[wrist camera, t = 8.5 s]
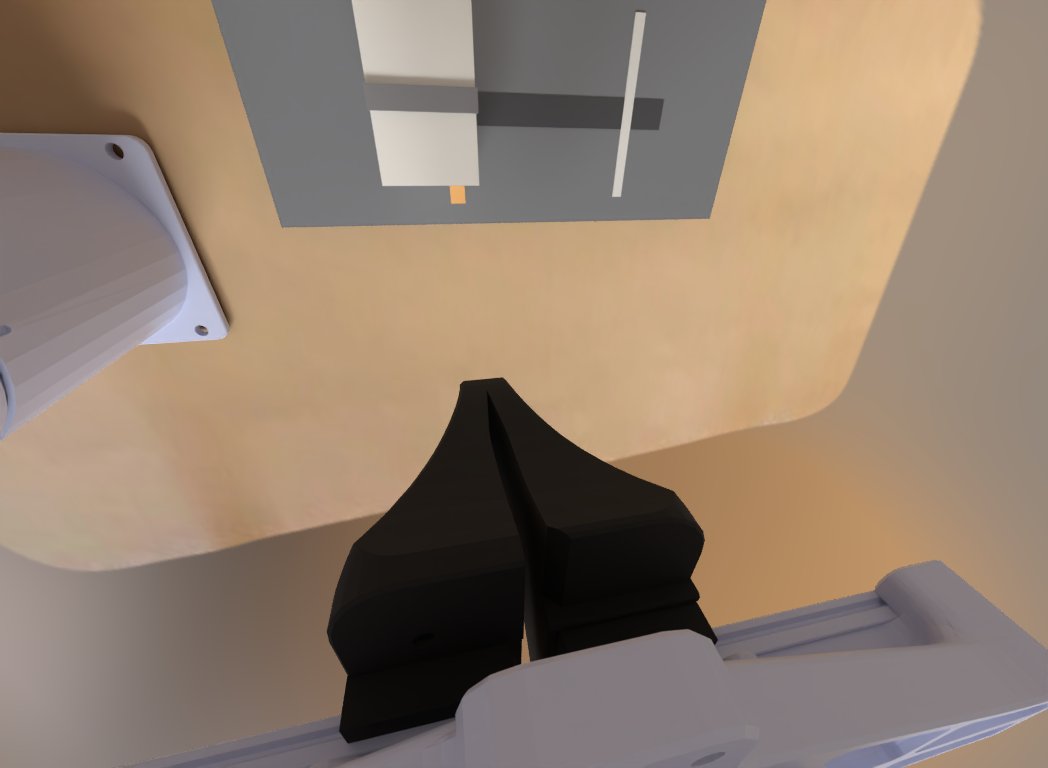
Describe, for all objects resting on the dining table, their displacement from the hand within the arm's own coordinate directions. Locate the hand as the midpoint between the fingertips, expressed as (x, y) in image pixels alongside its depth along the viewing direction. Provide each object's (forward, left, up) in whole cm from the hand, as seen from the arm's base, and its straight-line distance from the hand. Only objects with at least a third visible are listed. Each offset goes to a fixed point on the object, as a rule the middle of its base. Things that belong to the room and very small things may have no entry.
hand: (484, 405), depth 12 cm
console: (+2, +8, -9) cm, 13 cm away
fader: (-1, +8, -8) cm, 11 cm away
